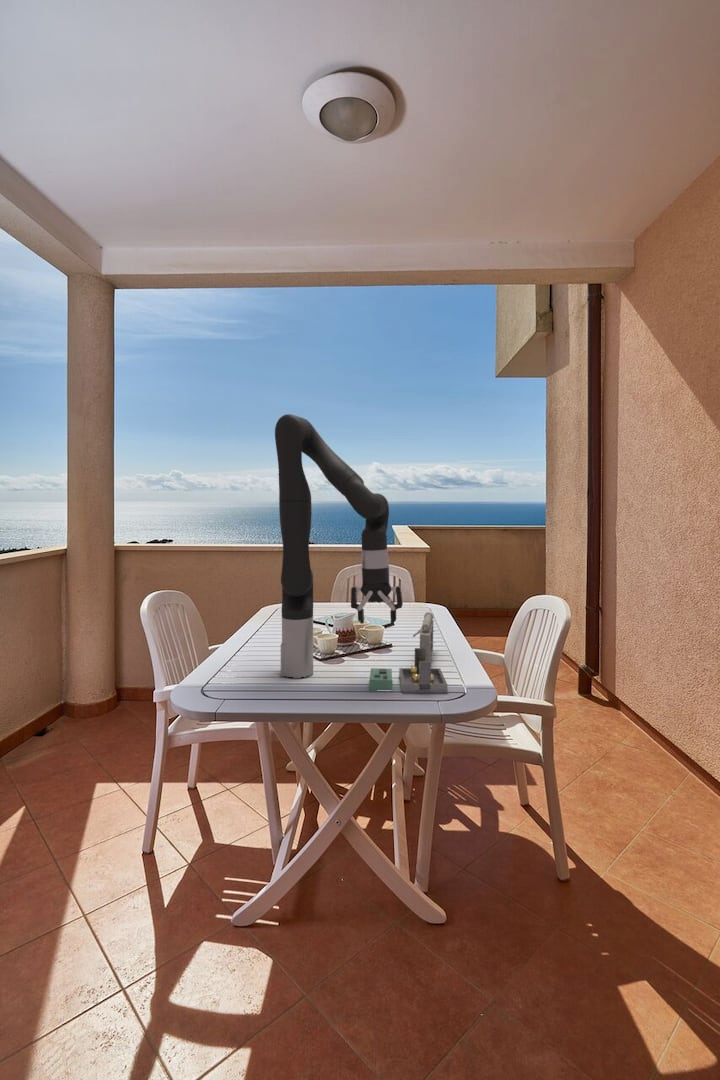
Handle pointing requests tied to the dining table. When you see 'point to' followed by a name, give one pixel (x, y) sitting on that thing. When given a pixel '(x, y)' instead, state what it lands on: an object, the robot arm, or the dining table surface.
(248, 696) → the dining table surface
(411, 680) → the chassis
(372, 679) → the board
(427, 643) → the grey upright lever device
